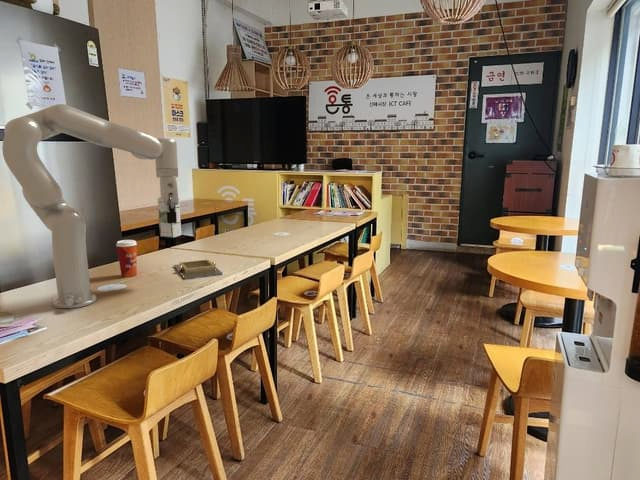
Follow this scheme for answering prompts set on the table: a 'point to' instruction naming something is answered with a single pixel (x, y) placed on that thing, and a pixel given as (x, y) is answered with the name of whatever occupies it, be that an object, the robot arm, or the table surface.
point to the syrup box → (165, 227)
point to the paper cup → (127, 257)
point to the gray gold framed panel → (197, 269)
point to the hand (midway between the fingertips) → (169, 221)
